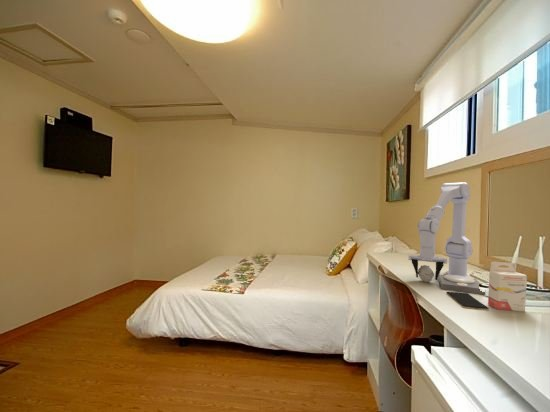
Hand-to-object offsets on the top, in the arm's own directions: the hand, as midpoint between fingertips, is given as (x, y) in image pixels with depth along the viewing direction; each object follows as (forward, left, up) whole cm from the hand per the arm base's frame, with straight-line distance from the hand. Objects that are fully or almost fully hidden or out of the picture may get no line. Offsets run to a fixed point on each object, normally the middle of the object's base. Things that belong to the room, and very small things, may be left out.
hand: (426, 278), depth 120 cm
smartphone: (+20, +11, -2) cm, 23 cm away
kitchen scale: (0, +12, -2) cm, 12 cm away
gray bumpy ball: (0, 0, -2) cm, 2 cm away
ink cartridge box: (+21, +22, -2) cm, 30 cm away
